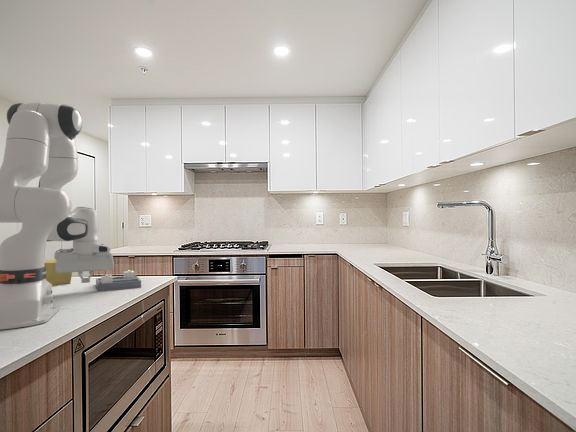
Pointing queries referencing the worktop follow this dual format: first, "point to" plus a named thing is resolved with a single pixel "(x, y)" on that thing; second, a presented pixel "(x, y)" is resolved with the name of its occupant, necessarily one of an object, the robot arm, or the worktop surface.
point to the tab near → (106, 279)
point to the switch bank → (119, 283)
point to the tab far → (129, 274)
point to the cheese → (56, 274)
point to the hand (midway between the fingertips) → (85, 282)
